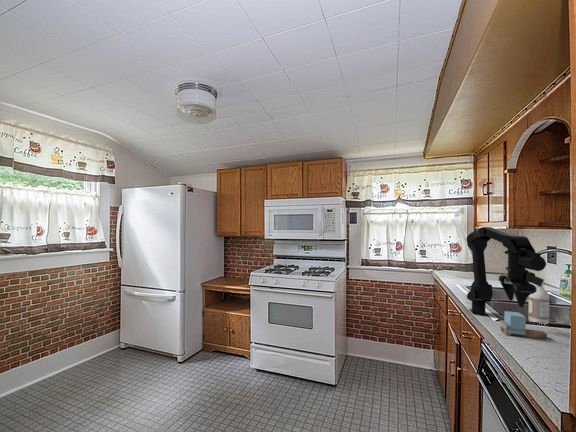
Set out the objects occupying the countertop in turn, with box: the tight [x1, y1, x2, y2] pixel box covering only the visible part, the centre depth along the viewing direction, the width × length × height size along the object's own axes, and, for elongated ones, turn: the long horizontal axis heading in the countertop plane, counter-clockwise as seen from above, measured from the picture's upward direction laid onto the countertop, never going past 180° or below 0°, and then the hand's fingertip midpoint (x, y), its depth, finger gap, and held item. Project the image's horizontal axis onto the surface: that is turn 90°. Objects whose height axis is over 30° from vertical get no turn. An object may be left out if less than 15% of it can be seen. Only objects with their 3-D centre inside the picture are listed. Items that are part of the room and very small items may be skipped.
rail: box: [499, 319, 548, 340], centre depth 111 cm, size 14×6×4 cm, turn 72°
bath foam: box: [527, 282, 550, 326], centre depth 125 cm, size 7×7×20 cm
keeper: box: [503, 310, 527, 335], centre depth 112 cm, size 5×6×7 cm
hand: (515, 303), depth 114 cm, fingers open, 9 cm apart
